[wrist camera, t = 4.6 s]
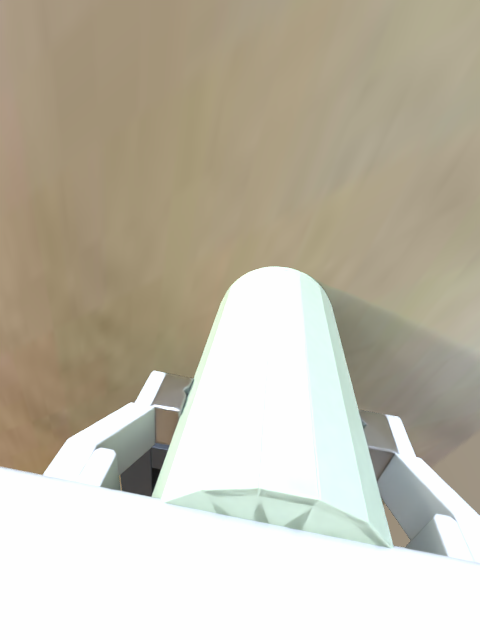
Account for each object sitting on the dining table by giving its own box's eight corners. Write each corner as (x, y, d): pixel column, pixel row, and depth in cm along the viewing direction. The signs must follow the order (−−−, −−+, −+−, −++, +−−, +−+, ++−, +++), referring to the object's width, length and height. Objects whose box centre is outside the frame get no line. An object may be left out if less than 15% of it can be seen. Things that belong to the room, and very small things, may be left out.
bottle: (346, 277, 15) (674, 1094, 2) (314, 368, 18) (383, 931, 5) (227, 256, 15) (-59, 911, 3) (216, 350, 18) (62, 855, 6)
